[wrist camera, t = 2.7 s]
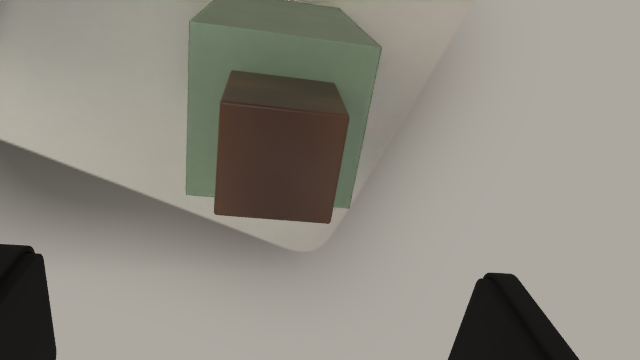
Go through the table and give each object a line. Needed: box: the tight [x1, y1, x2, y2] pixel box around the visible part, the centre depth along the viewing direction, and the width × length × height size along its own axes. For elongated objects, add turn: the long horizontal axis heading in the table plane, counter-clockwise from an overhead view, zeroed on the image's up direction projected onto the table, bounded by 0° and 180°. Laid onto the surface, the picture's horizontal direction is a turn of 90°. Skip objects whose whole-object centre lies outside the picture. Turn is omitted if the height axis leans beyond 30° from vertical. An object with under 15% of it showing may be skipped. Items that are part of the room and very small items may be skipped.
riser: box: [186, 0, 382, 208], centre depth 27 cm, size 8×8×14 cm
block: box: [214, 70, 350, 224], centre depth 19 cm, size 4×4×4 cm
